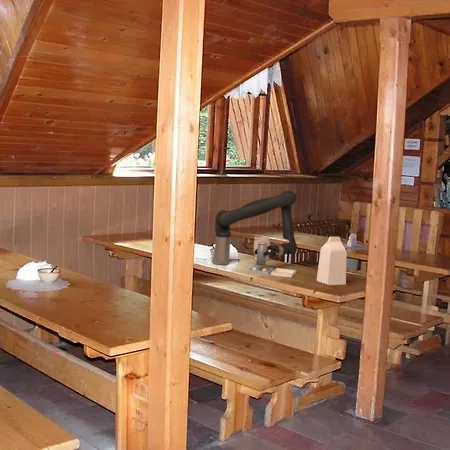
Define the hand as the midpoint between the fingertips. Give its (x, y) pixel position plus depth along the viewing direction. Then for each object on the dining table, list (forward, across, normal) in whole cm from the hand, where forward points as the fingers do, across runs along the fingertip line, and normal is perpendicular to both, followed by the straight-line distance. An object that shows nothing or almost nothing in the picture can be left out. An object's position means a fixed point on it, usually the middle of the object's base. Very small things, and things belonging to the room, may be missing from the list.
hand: (259, 253), depth 391 cm
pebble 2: (+1, +5, +11) cm, 12 cm away
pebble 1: (+3, -1, +11) cm, 11 cm away
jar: (-39, -23, +12) cm, 47 cm away
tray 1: (-2, +1, +12) cm, 12 cm away
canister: (-3, 0, +7) cm, 7 cm away
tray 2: (-7, +13, +11) cm, 19 cm away
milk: (-11, +42, +11) cm, 45 cm away
